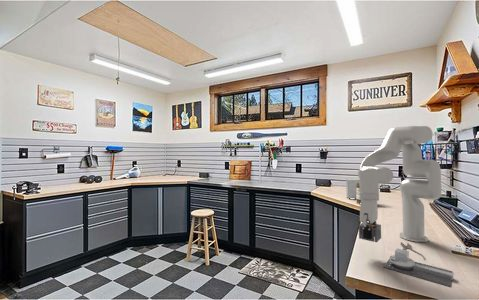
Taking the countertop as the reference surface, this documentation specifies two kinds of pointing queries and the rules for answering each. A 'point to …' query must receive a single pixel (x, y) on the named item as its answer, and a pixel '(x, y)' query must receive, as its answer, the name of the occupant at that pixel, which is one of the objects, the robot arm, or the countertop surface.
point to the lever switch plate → (418, 268)
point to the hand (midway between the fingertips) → (370, 235)
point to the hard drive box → (351, 187)
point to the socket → (375, 232)
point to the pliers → (410, 248)
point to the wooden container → (358, 193)
